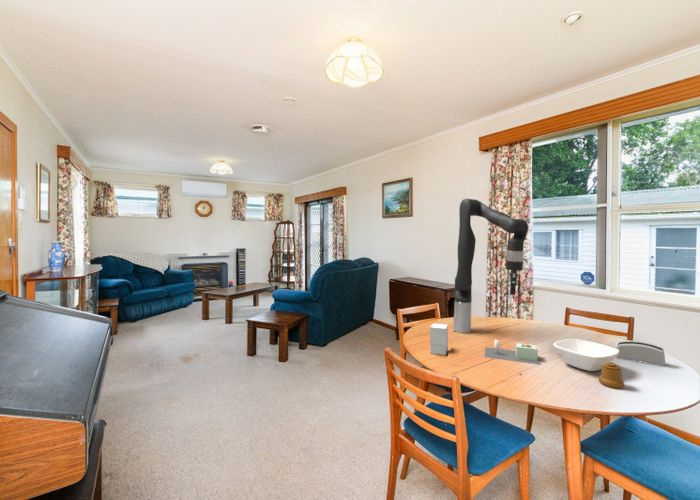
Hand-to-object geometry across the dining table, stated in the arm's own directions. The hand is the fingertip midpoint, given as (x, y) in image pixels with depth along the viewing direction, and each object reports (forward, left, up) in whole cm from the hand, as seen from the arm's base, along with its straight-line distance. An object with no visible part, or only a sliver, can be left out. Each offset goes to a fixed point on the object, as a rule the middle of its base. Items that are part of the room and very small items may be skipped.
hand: (512, 293), depth 164 cm
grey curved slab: (+51, +3, -27) cm, 58 cm away
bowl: (+27, -14, -27) cm, 41 cm away
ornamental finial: (+32, -30, -27) cm, 52 cm away
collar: (+5, -16, -25) cm, 31 cm away
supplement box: (-32, -20, -27) cm, 46 cm away
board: (-1, -16, -27) cm, 32 cm away
